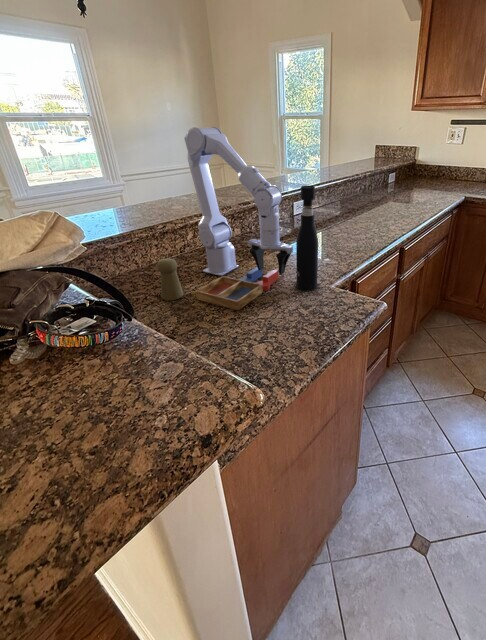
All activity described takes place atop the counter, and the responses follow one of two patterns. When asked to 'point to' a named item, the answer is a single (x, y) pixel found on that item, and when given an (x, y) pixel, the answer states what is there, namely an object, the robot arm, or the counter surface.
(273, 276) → the red spoon
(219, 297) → the wooden sorting tray
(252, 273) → the blue spoon
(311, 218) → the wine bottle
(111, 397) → the counter surface
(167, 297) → the olive green pawn
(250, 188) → the robot arm
